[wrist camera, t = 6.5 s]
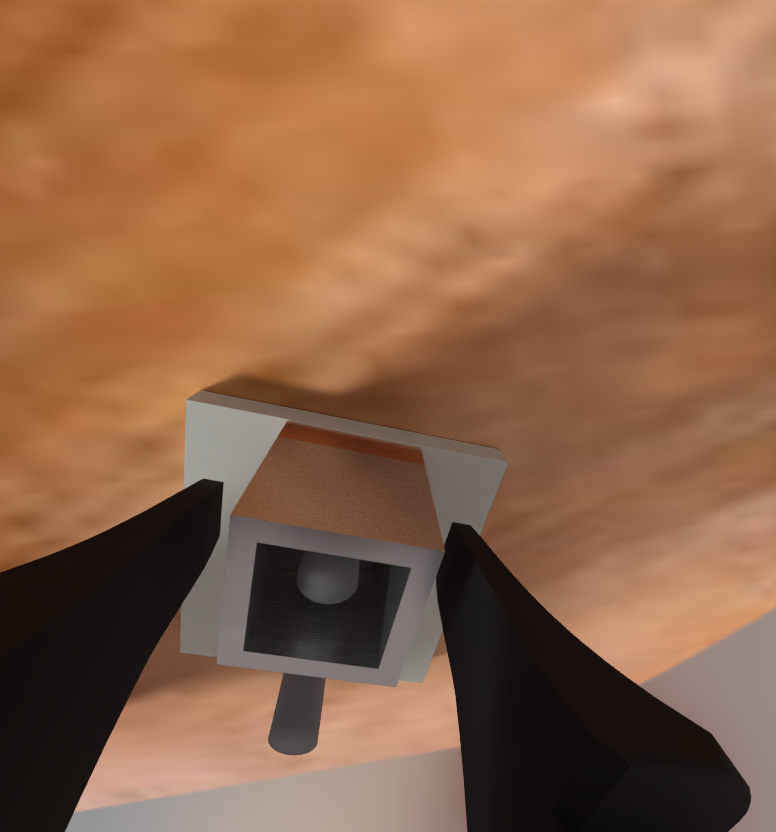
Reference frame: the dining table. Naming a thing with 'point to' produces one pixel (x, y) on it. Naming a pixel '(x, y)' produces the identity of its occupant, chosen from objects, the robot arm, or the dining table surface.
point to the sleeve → (336, 535)
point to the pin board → (243, 452)
